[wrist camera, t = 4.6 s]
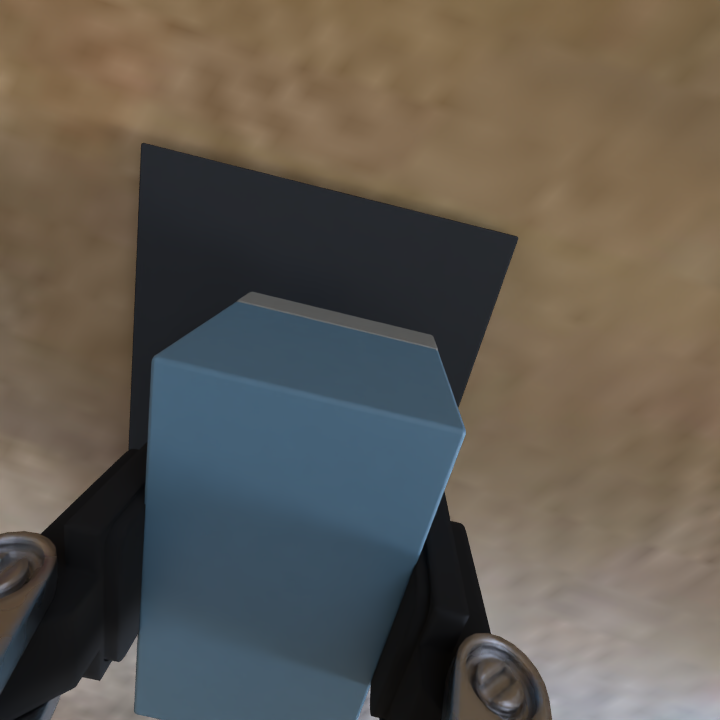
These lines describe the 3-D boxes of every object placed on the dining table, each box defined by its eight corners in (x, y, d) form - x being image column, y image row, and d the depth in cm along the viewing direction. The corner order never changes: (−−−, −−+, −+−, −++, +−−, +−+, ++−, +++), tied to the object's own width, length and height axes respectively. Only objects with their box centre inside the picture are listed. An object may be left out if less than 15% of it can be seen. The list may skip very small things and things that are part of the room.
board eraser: (250, 290, 10) (148, 356, 5) (434, 334, 10) (469, 431, 6) (215, 546, 12) (132, 715, 8) (357, 578, 13) (343, 760, 8)
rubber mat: (149, 144, 10) (140, 142, 9) (514, 236, 10) (519, 237, 10) (128, 578, 15) (121, 588, 14) (377, 626, 15) (377, 637, 15)
